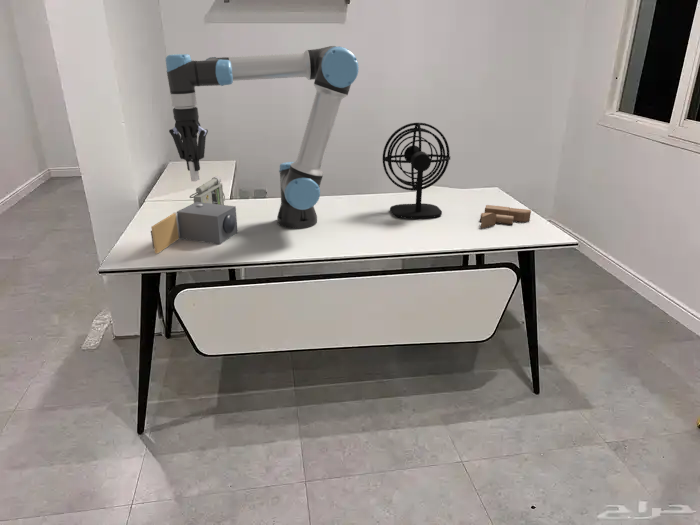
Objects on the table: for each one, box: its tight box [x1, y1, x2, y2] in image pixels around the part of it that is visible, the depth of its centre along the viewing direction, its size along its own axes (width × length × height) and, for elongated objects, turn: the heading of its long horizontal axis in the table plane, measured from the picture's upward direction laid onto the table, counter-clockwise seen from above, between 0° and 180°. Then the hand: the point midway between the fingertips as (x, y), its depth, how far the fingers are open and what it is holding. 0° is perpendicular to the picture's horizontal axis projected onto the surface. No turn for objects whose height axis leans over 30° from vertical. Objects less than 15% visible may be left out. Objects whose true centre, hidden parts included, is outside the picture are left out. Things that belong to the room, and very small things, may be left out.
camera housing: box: [176, 202, 239, 245], centre depth 191 cm, size 17×12×11 cm
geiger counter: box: [189, 175, 226, 205], centre depth 214 cm, size 14×6×25 cm
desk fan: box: [382, 122, 451, 219], centre depth 212 cm, size 27×18×35 cm, turn 97°
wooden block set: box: [479, 204, 532, 229], centre depth 206 cm, size 17×6×18 cm
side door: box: [150, 211, 180, 254], centre depth 182 cm, size 15×2×9 cm, turn 168°
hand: (195, 180), depth 180 cm, fingers closed
